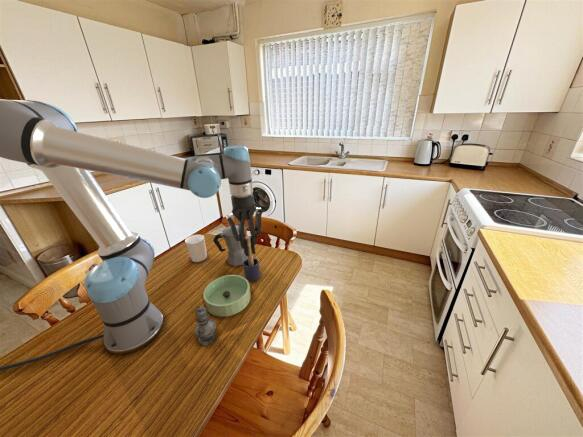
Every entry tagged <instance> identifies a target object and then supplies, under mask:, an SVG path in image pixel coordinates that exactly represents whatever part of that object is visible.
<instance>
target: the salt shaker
mask: <svg viewBox="0 0 583 437" xmlns="http://www.w3.org/2000/svg"><path fill="white" fill-rule="evenodd" d="M195 316H196V319H195V322H196V324H197V325H196V326H195V328H194V335H195V336H197V341H198V343H199V344H200V345H202V346H208V345H210V344H212V343H213V342H214V341H216V340H217V336H216V328H217V324H216V322H215V321H214V320H212V319H210V318H211V317H210V315H209V314H208V310H207V308H206V306H205V307H204V306H198V307H197V308H196V310H195Z"/></svg>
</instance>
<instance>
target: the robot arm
mask: <svg viewBox="0 0 583 437" xmlns="http://www.w3.org/2000/svg"><path fill="white" fill-rule="evenodd" d="M0 158H2V159H4V160H5V159H6V160H9V161H14V162H19V163H24V164H26V165H27V166H28V167H29V168H32V169H35V170H39V171H41V172H42V173H43V175H44V176H45V177H46V178H47V180H48V181H49V182H50V184H51V185H52V187H53V188H54V189H55V190H56V191H57V193H58V194H59V195H60V197H61V198H62V199H63V200H64V202H65V203H66V205H67V206H68V207H69V208H70V210H71V211H72V213H74V215H75V216H76V218H77V219H78V220H79V221H80V223H81V224H82V226H83V227H84V228H85V229H86V231H87V232H88V233H89V235H90V236H91V237H92V239H93V240H94V241H95V243H96V244H97V245H98V249H97V255H98V257H99V258H100V259H101V260H102V261H101V262H99V265H95V266H93V267H92V268H91V269H90V270H89V271H88V272H87V274H86V276H85V278H84V287H85V289H86V290H85V291H86V294H87V296H88V298H89V299H90V301H91V302H92V305H93V306H94V308H95V310H96V312H97V314H98V315H99V318H100V320H101V322H102V324H103V333H102V334H99V335H95V336H92V337H89V338H86V339H83V340H80V341H78V342H75V343H71V344H70V345H67V346H64V347H63V348H61V349H57V350H54V351H52V352H49V353H46V354H43V355H40V356H37V357H34V358H33V357H32V358H30V359H26V360H22V361H19V362H16V363H15V362H14V363H10V364H7V365H3V366H0V371H4V370H9V369H12V368H17V367H20V366H24V365H27V364H31V363H35V362H37V361H41V360H44V359H46V358H49V357H53V356H55V355H58V354H60V353H63V352H66V351H68V350H70V349H73V348H76V347H78V346H80V345H81V346H82V345H83V344H86V343H88V342H89V343H90V342H93V341H96V340H98V339H102V338H103V345H104V346H105V348H106V350H107V351H108V352H109V353H111V354H113V355H127V354H131V353H134V352H137V351H139V350H141V349H142V348H144V347H145V346H147V345H149V344H150V343H151V342H152V341H154V340H155V339H156V338H157V337H158V336H159V334H160V333H161V331H162V330H163V327H164V324H165V319H164V316H163V312H161V311H160V309H159V308H158V307H156V305H154V304H153V303H152V302H151V301H150V299H149V296H148V293H147V290H146V286H145V285H146V282H147V280H148V278H149V274H150V272H151V269H152V268H153V267H152V266H153V265H154V262H155V256H156V255H155V248H154V246H153V244H152V243H151V242H149V241H148V240H147V239H145V238H142V237H141V236H140V234H139V233H138V232H134V231H130V230H129V227H128V226H127V225H126V223H125V222H124V221H123V219H122V218H121V216H120V214H119V213H118V211H117V210H116V208H115V207H114V206H113V204H112V202H111V201H110V199H109V198H108V197H107V195H106V193H105V192H104V191H103V189H102V187H101V186H100V184H99V183H98V181H97V180H96V178H95V177H94V175H93V174H92V172H96V173H101V174H104V175H105V174H106V175H111V176H115V177H120V178H125V179H130V180H135V181H139V182H140V181H141V182H146V183H150V184H154V185H155V184H156V185H160V186H165V187H171V188H175V189H180V190H186V191H190V192H191V193H192V194H193V195H194V196H196V197H197V198H202V199H209V198H212V197H213V196H215V195H216V194H217V193H218V192H219V190H220V187H221V183H222V180H228V187H229V194H230V195H231V196H230V201H231V207H232V209H231V213H230V214H229V215H225V217H224V218H225V219H226V221H228V224H229V226H230V227H231V230H232V233H233V236H234V238H235V240H236V241H237V242H238V241H240V245H241V247H242V249H244V254H245V255H246V256H247V257H248V256H249V253H248V246H247V240H246V239H245V237H246V236H245V235H246V234H244V226H245V222H247V225H248V229H249V233H250V235H249V236H250V237H251V244H252V253H253V255H256V247H255V246H256V245H257V239H258V236H260V235H261V234H262V233H261V231H262V215H263V213H264V210H263V209H262V208H261V207H257V206H256V205H255V194H254V187H253V186H254V185H253V177H252V167H251V166H252V165H251V159H250V153H249V148H248V147H246V146H245V145H230V146H225V147H224V148H223V153H221V154H214V155H213V154H211V155H194V156H189V157H185V158H183V157H179V156H175V155H171V154H167V153H162V152H159V151H156V150H151V149H147V148H143V147H139V146H135V145H130V144H127V143H123V142H119V141H115V140H111V139H107V138H102V137H98V136H94V135H91V134H86V133H82V132H79V131H78V127H77V125H76V123H75V121H74V120H73V118H72V117H71V116H69V114H68V113H66V112H65V111H64V110H62V109H60V108H59V107H57V106H55V105H53V104H51V103H47V102H42V101H38V100H33V99H26V100H21V99H20V100H18V99H2V98H0ZM254 214H255V216H254ZM253 216H254V218H255V219H254V218H253ZM235 218H236V219H237V223H238V226H239V236H238V233H237V230H236V227H235V226H236V223H235V222H234V221H235Z"/></svg>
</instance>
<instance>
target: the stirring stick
mask: <svg viewBox="0 0 583 437" xmlns="http://www.w3.org/2000/svg"><path fill="white" fill-rule="evenodd" d="M250 236H251V235H246V236H245V239H246V240H247V246H248V253H249V256H247V257H248V263H249V266H254V261H253V258H254V254H253V253H252V244H251V237H250Z"/></svg>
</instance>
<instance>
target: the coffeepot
mask: <svg viewBox="0 0 583 437" xmlns="http://www.w3.org/2000/svg"><path fill="white" fill-rule="evenodd" d="M235 227H236V230H237V233H238V236H239V224H238V225H236V224H235ZM247 229H249V226H247V225H244V235H246V234H245V233H246V231H247ZM221 231H222V232H220V233H218V234H216V235H215V236H214V237H213V243H214V244H215V245H216V247H217V248H218V250H219V252H221V253H222V252H225V251H226V248H223V246H222V245H221V244H220V241H219V239H224V241H225V245H226V247H227V264H228V265H230V266H233V267H237V266H243V262H244V261H245V260H246V259H248V256H246V255H245V254H244V249H242V247H241V245H240V241H238V242H237V241H236V240H235V238H234V236H233V233H232V230H231V227H230V225H229V226H227V227H225V228H224V229H223V230H221Z"/></svg>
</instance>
